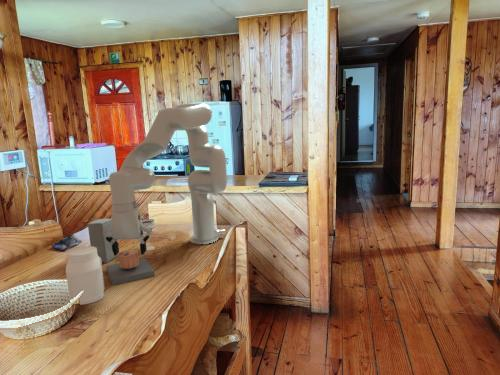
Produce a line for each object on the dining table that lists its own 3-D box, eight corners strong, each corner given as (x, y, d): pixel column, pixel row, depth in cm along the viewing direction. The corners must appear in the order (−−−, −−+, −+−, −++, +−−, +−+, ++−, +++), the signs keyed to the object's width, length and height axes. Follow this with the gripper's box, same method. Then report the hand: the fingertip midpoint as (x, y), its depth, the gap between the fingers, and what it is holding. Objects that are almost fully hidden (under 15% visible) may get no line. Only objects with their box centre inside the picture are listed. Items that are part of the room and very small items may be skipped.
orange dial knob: (124, 261, 138) (122, 248, 137) (141, 261, 138) (140, 248, 137) (117, 268, 132) (115, 255, 131) (135, 268, 132) (134, 254, 131)
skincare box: (107, 263, 145) (103, 223, 142) (90, 262, 147) (86, 223, 144) (119, 255, 153) (115, 217, 151) (103, 254, 155) (99, 217, 152)
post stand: (145, 262, 145) (144, 245, 143) (154, 276, 132) (153, 257, 131) (106, 270, 138) (104, 252, 137) (112, 285, 126) (110, 265, 125)
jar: (103, 301, 115) (97, 254, 112) (68, 307, 112) (62, 259, 109) (105, 285, 126) (100, 242, 123) (73, 290, 123) (68, 246, 120)
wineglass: (137, 250, 159) (134, 222, 157) (147, 244, 165) (145, 218, 163) (150, 251, 157) (148, 223, 154) (160, 246, 163) (158, 219, 160)
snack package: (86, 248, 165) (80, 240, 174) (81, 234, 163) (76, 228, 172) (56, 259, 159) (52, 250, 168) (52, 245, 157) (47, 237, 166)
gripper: (152, 203, 134) (156, 249, 138) (104, 205, 135) (110, 250, 139) (145, 209, 127) (150, 257, 131) (95, 210, 128) (101, 258, 131)
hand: (129, 253), depth 135 cm, fingers open, 9 cm apart
